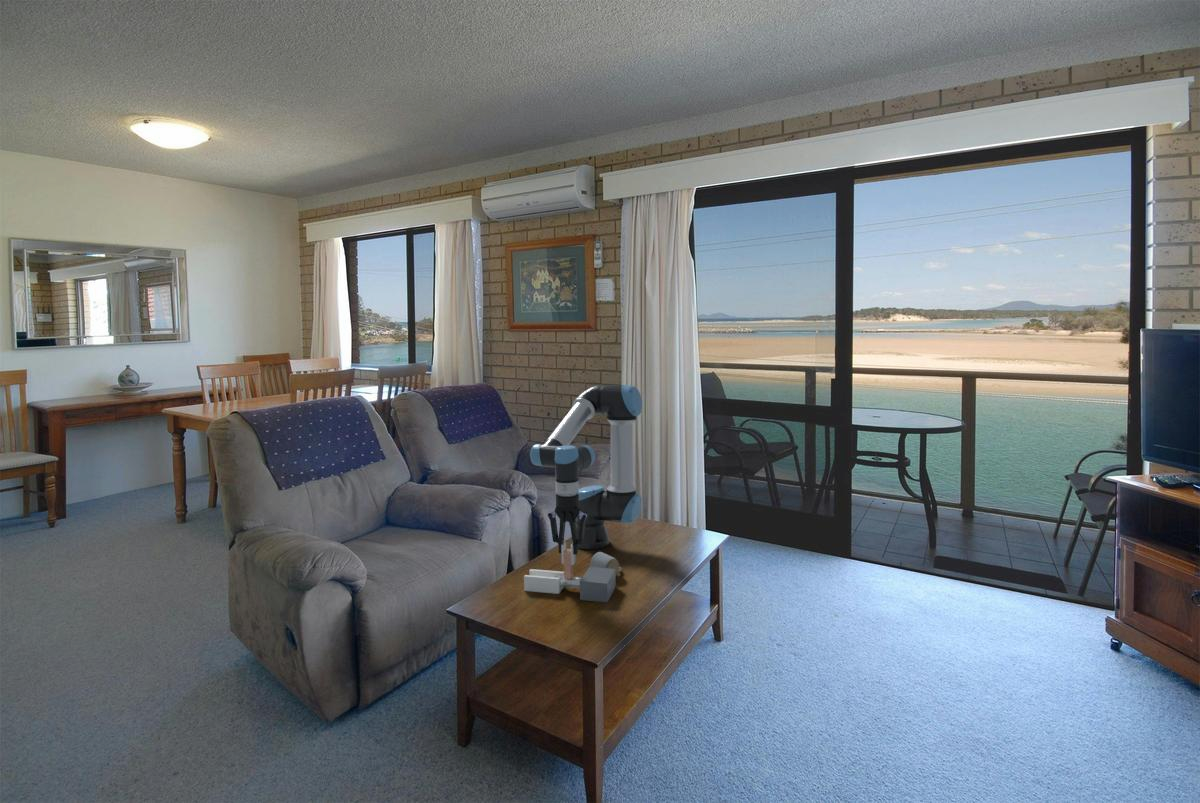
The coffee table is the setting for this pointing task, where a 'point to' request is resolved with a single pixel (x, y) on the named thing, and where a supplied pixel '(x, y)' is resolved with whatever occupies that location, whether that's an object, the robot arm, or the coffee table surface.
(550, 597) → the coffee table surface
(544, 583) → the white channel cradle
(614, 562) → the ceramic mug
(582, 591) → the socket block
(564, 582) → the silver peg with handle
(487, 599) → the coffee table surface
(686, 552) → the coffee table surface
